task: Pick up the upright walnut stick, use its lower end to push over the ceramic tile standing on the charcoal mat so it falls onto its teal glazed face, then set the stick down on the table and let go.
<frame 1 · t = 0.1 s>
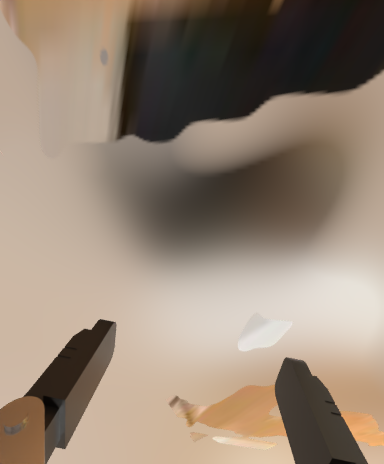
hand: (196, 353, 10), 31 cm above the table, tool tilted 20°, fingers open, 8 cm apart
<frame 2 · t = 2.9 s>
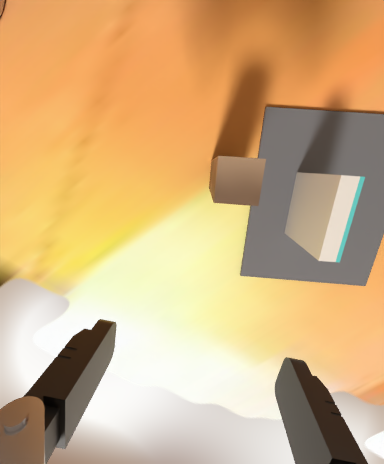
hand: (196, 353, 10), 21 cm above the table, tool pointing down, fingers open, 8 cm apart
mat: (319, 205, 28), on the table
tile: (298, 204, 28), resting on mat
walnut stick: (223, 175, 28), on the table
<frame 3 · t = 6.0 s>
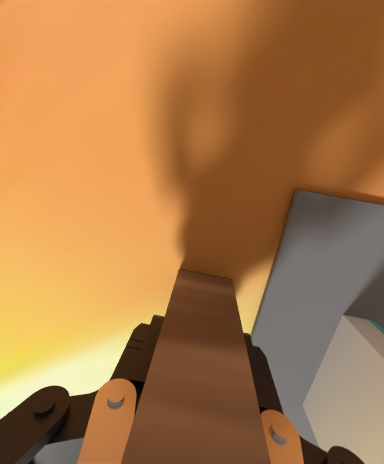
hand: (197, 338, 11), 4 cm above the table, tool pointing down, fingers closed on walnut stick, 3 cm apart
mat: (375, 369, 15), on the table
tile: (335, 366, 15), resting on mat
walnut stick: (200, 297, 14), on the table, touching gripper
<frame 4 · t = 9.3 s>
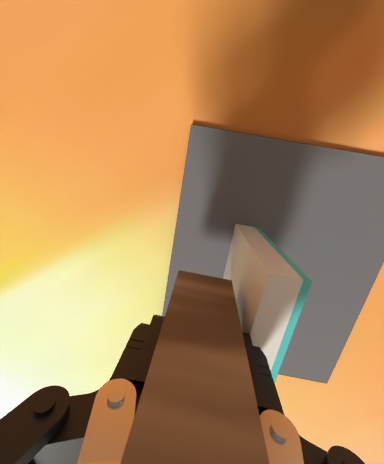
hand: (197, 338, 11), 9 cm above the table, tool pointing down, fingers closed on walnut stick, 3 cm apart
mat: (268, 271, 20), on the table
tile: (236, 267, 19), resting on mat, touching gripper
walnut stick: (200, 298, 14), point 6 cm above the table, touching gripper
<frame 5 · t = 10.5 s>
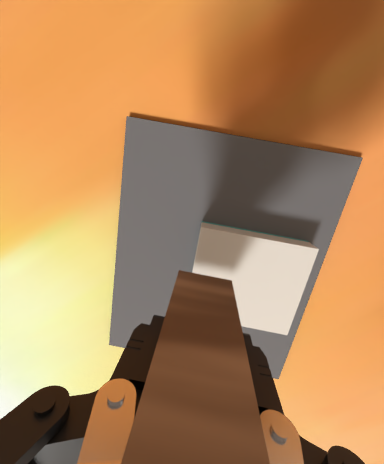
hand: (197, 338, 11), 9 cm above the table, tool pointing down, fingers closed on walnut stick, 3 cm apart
mat: (213, 265, 20), on the table
tile: (192, 268, 18), point 1 cm above the table, tilted 90°, touching mat
walnut stick: (200, 298, 14), point 5 cm above the table, touching gripper
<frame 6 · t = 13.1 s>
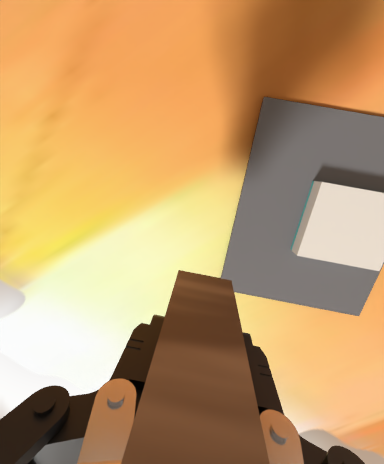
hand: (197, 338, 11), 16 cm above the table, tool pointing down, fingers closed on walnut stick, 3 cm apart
mat: (315, 218, 25), on the table
tile: (304, 218, 23), point 1 cm above the table, tilted 90°, touching mat
walnut stick: (200, 298, 15), point 12 cm above the table, touching gripper
when the fingers open (5 cm above the table, at t = 15.3 s): walnut stick stays where it is, on the table.
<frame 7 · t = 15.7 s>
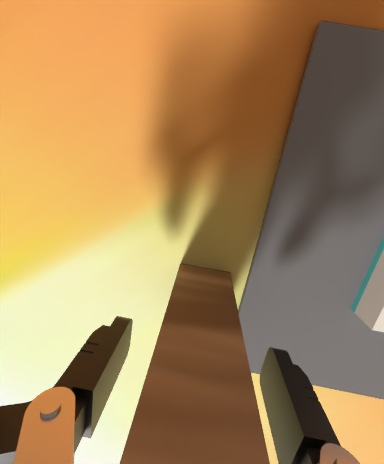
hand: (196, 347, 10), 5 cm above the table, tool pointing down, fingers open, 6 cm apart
walnut stick: (200, 289, 15), on the table
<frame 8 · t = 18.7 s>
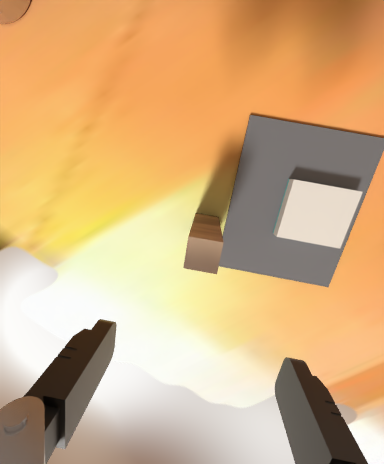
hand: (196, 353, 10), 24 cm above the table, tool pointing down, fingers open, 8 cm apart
mat: (292, 208, 31), on the table
tile: (282, 207, 30), point 1 cm above the table, tilted 90°, touching mat
walnut stick: (205, 226, 33), on the table
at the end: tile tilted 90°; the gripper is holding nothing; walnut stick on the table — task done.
